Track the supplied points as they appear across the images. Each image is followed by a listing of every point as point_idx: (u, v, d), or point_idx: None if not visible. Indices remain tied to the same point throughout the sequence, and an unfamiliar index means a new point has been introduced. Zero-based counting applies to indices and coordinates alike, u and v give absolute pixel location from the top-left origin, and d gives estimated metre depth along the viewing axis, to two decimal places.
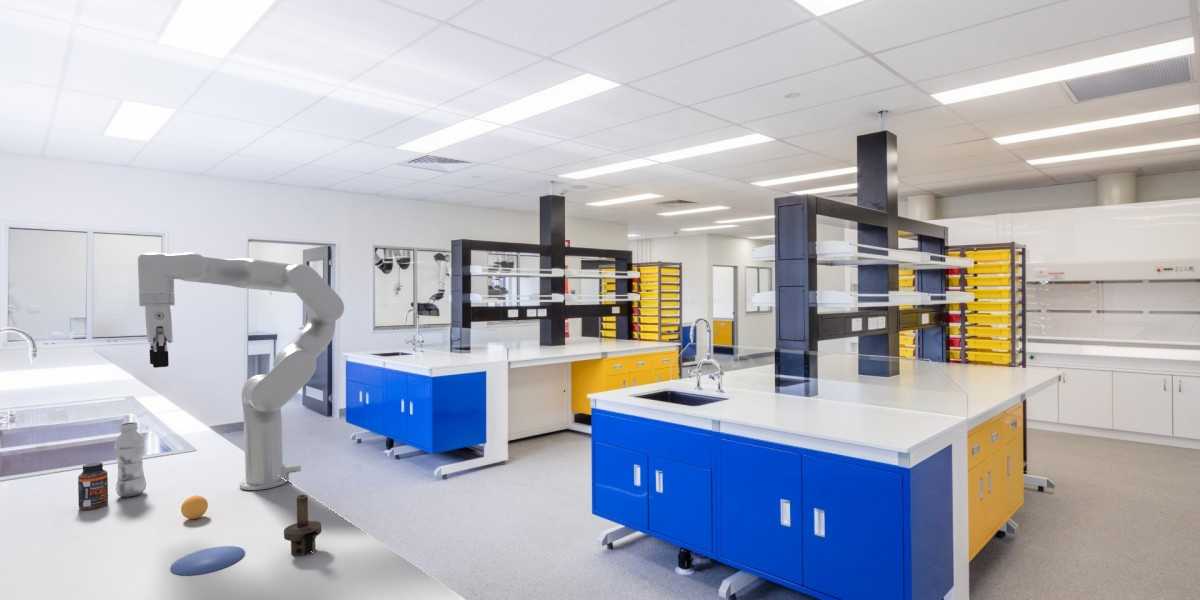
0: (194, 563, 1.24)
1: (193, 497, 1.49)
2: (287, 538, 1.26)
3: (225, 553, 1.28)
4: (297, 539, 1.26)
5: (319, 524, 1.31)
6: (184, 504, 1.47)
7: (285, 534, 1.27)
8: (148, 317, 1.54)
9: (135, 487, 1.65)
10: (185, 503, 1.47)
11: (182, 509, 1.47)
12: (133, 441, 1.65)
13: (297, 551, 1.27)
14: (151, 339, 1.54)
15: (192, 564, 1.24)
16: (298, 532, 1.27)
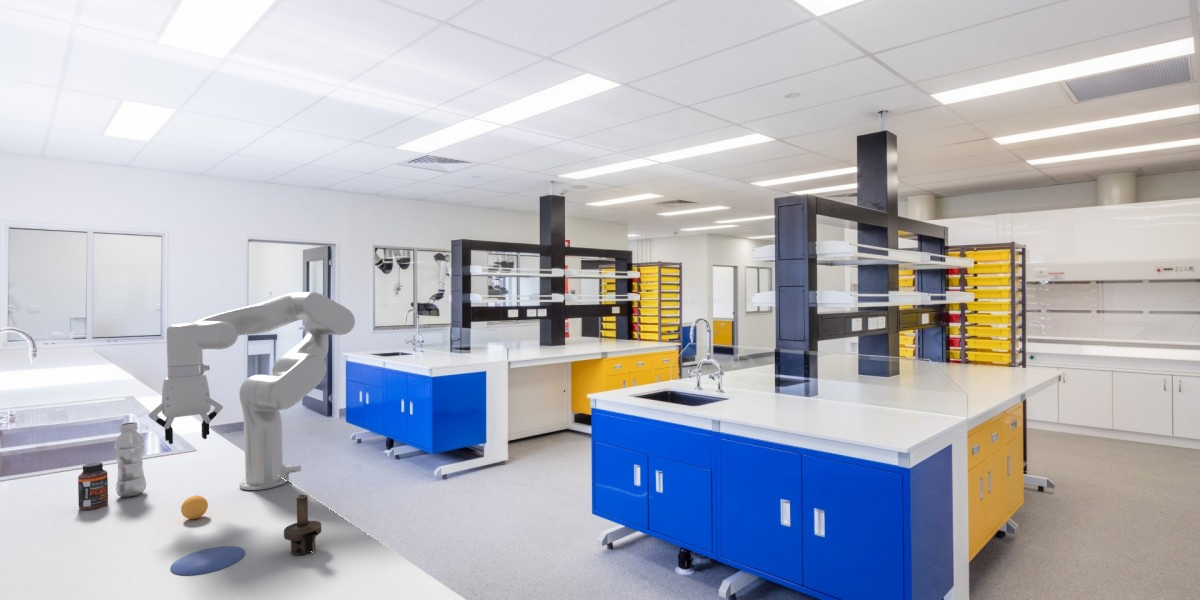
0: (194, 563, 1.24)
1: (193, 497, 1.49)
2: (287, 538, 1.26)
3: (225, 553, 1.28)
4: (297, 539, 1.26)
5: (319, 524, 1.31)
6: (184, 504, 1.47)
7: (285, 534, 1.27)
8: (205, 387, 1.57)
9: (135, 487, 1.65)
10: (185, 503, 1.47)
11: (182, 509, 1.47)
12: (133, 441, 1.65)
13: (297, 551, 1.28)
14: (209, 408, 1.58)
15: (192, 564, 1.24)
16: (298, 532, 1.27)
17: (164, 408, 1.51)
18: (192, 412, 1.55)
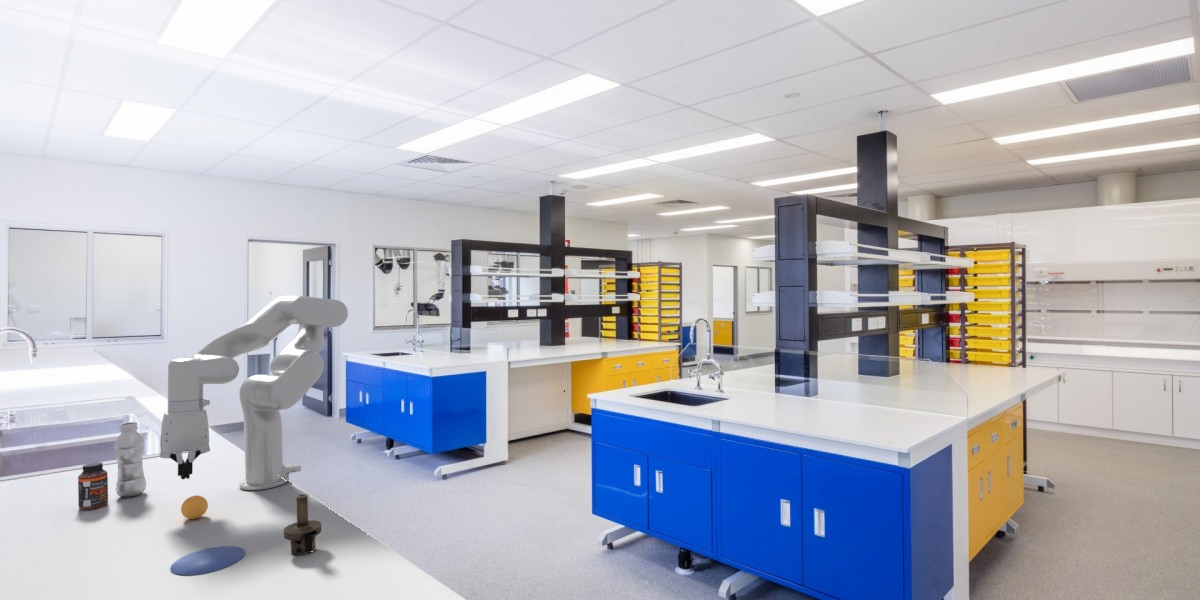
0: (194, 563, 1.24)
1: (193, 497, 1.49)
2: (287, 537, 1.27)
3: (225, 553, 1.28)
4: (297, 538, 1.26)
5: (319, 523, 1.31)
6: (184, 504, 1.47)
7: (285, 534, 1.27)
8: (204, 422, 1.57)
9: (135, 487, 1.65)
10: (185, 503, 1.47)
11: (182, 509, 1.47)
12: (133, 441, 1.65)
13: (297, 550, 1.28)
14: (208, 443, 1.57)
15: (192, 564, 1.24)
16: (298, 531, 1.27)
17: (163, 443, 1.51)
18: (190, 447, 1.55)
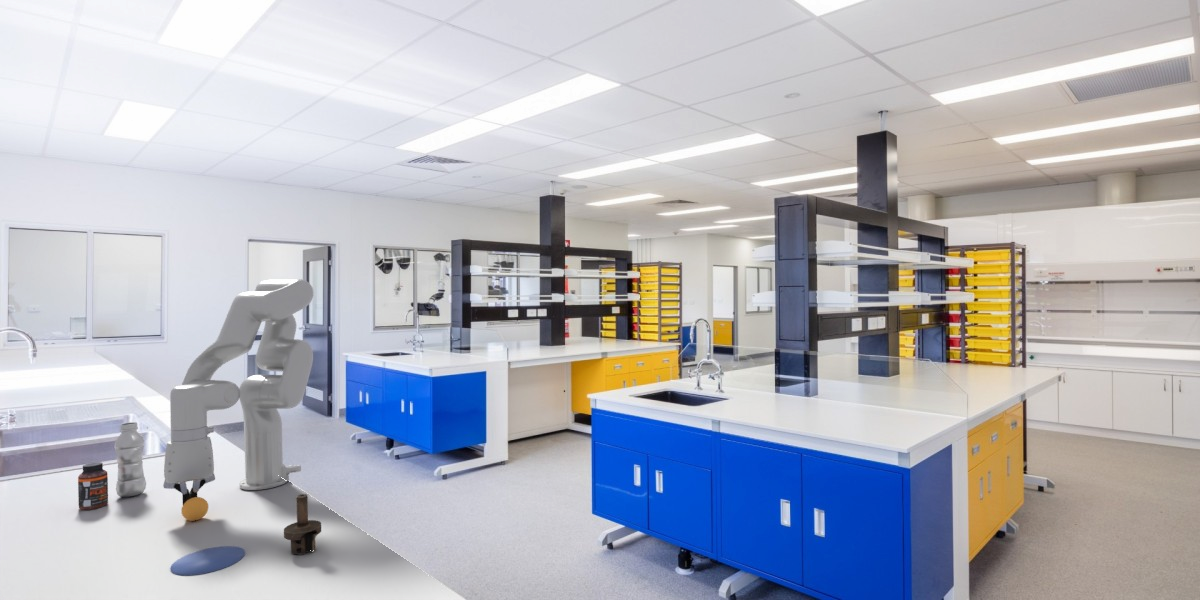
0: (194, 563, 1.24)
1: (194, 501, 1.47)
2: (287, 537, 1.27)
3: (225, 553, 1.28)
4: (297, 538, 1.26)
5: (319, 523, 1.31)
6: (185, 508, 1.46)
7: (285, 533, 1.27)
8: (208, 451, 1.52)
9: (135, 487, 1.65)
10: (186, 507, 1.46)
11: (182, 512, 1.46)
12: (133, 441, 1.65)
13: (297, 550, 1.28)
14: (212, 472, 1.53)
15: (192, 564, 1.24)
16: (298, 531, 1.27)
17: (166, 474, 1.47)
18: (195, 477, 1.50)
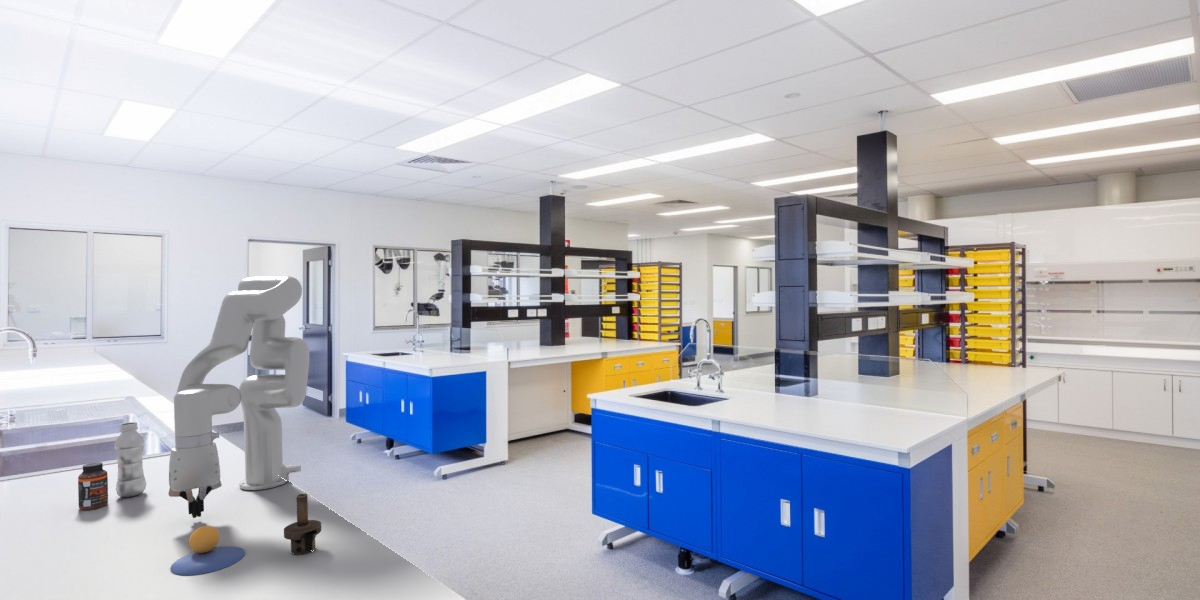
0: (194, 563, 1.24)
1: (204, 552, 1.29)
2: (287, 537, 1.27)
3: (225, 553, 1.28)
4: (297, 538, 1.26)
5: (319, 523, 1.31)
6: (193, 550, 1.28)
7: (285, 533, 1.27)
8: (215, 457, 1.48)
9: (135, 487, 1.65)
10: (194, 551, 1.29)
11: None
12: (133, 441, 1.65)
13: (297, 550, 1.28)
14: (219, 478, 1.49)
15: (192, 564, 1.24)
16: (298, 531, 1.27)
17: (171, 482, 1.42)
18: (201, 484, 1.46)
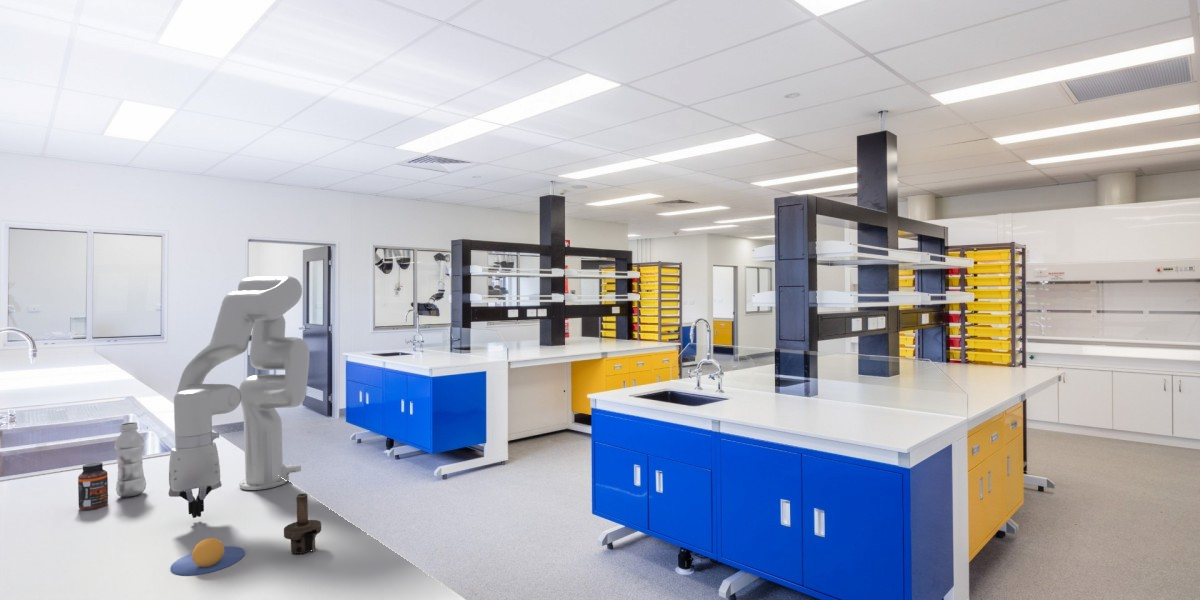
0: (194, 563, 1.24)
1: None
2: (287, 537, 1.27)
3: (225, 553, 1.28)
4: (297, 538, 1.27)
5: (319, 523, 1.32)
6: (195, 546, 1.22)
7: (285, 533, 1.27)
8: (215, 457, 1.48)
9: (135, 487, 1.65)
10: None
11: (193, 552, 1.21)
12: (133, 441, 1.65)
13: (297, 550, 1.28)
14: (219, 478, 1.49)
15: (192, 564, 1.24)
16: (298, 531, 1.27)
17: (171, 482, 1.42)
18: (201, 484, 1.46)
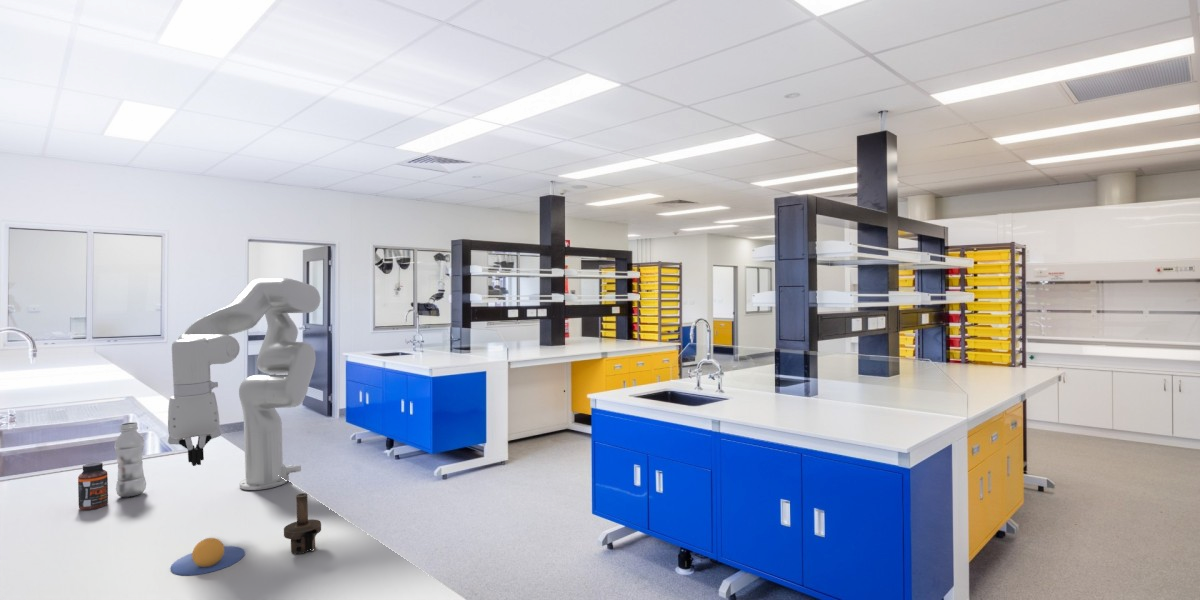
0: (194, 563, 1.24)
1: None
2: (287, 536, 1.27)
3: (225, 553, 1.28)
4: (297, 537, 1.27)
5: (319, 522, 1.32)
6: (195, 546, 1.22)
7: (285, 533, 1.28)
8: (213, 406, 1.47)
9: (135, 487, 1.65)
10: None
11: (193, 552, 1.21)
12: (133, 441, 1.65)
13: (297, 549, 1.28)
14: (218, 427, 1.49)
15: (192, 564, 1.24)
16: (298, 530, 1.27)
17: (170, 429, 1.42)
18: (200, 432, 1.46)
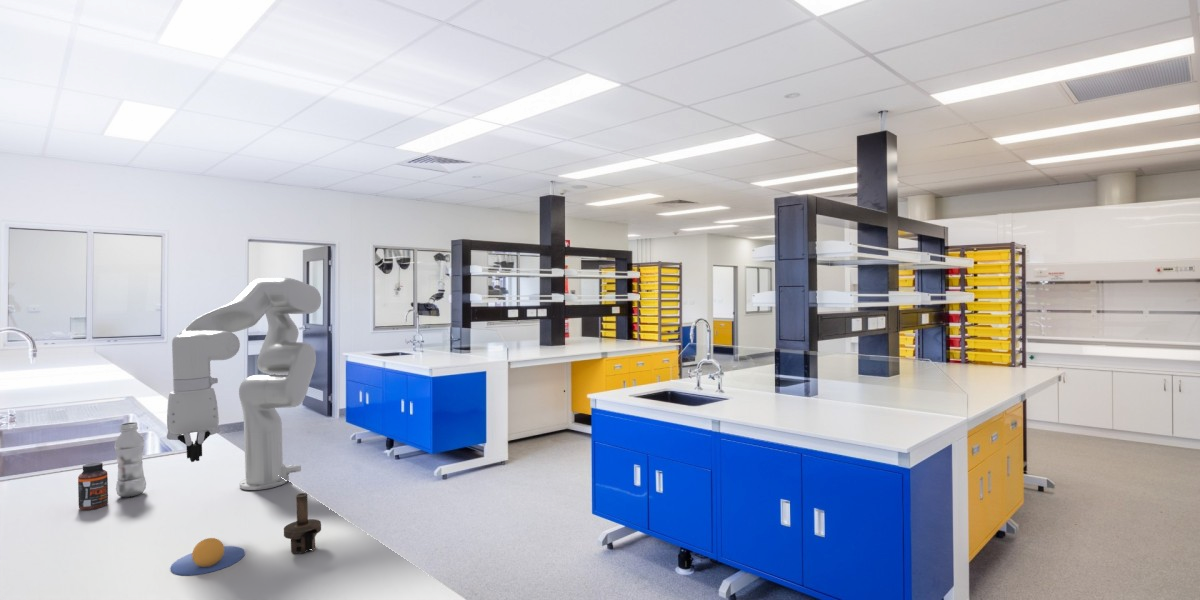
0: (194, 563, 1.24)
1: None
2: (287, 536, 1.27)
3: (225, 553, 1.28)
4: (297, 537, 1.27)
5: (319, 522, 1.32)
6: (195, 546, 1.22)
7: (285, 532, 1.28)
8: (213, 401, 1.47)
9: (135, 487, 1.65)
10: None
11: (193, 552, 1.21)
12: (133, 441, 1.65)
13: (297, 549, 1.28)
14: (217, 423, 1.48)
15: (192, 564, 1.24)
16: (298, 530, 1.28)
17: (170, 424, 1.42)
18: (199, 428, 1.46)
